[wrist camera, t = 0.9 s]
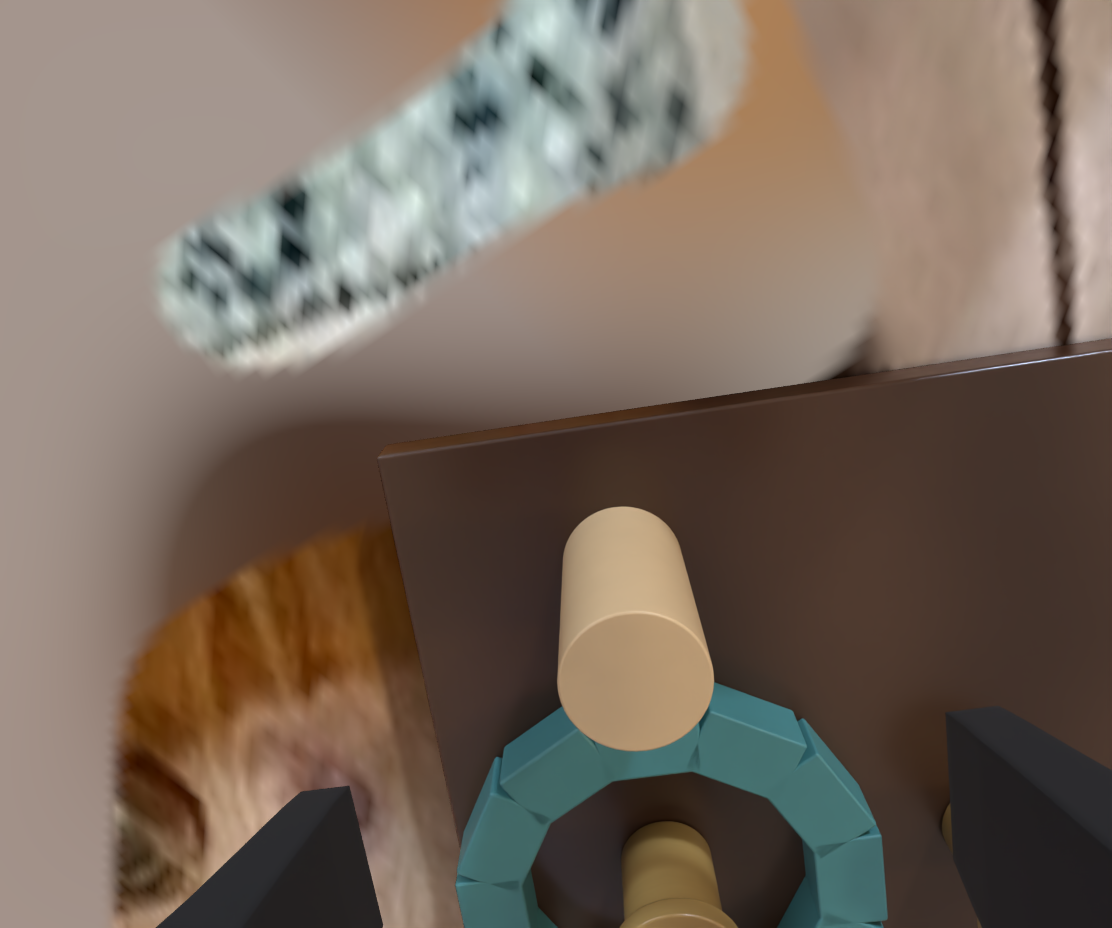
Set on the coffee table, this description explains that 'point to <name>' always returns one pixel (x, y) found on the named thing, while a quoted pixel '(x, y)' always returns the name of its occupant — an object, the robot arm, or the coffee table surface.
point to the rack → (782, 607)
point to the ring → (658, 738)
